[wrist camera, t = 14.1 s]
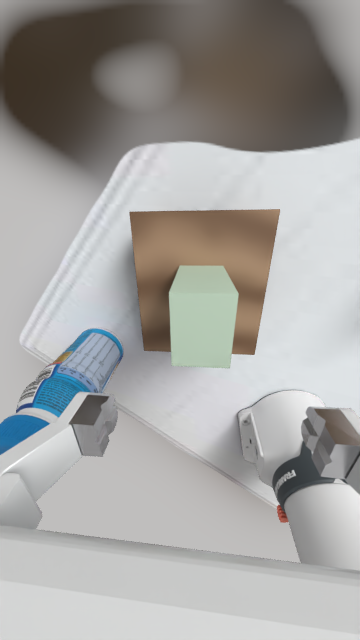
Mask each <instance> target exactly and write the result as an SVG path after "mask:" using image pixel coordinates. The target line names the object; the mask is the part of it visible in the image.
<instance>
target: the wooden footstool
mask: <svg viewBox="0 0 360 640" xmlns="http://www.w3.org/2000/svg"><path fill="white" fill-rule="evenodd" d="M279 214H280V209H272V210H210V211H148V212H130V222H131V231H132V241H133V250H134V260H135V269H136V278H137V288H138V297H139V307H140V316H141V326H142V335H143V345H144V351H164V352H171V335H170V307H169V291H170V289H171V286H172V284H173V281H174V279H175V276H176V274H177V271H178V269H179V266H180V265H182V266H224V268H225V270H226V272H227V273H228V275H229V277H230V279H231V281H232V283H233V284H234V286H235V288H236V290H237V292H238V293H239V295H238V304H237V312H236V321H235V329H234V337H233V346H232V354H248V355H254V354H255V349H256V343H257V337H258V332H259V326H260V320H261V315H262V309H263V304H264V298H265V292H266V287H267V281H268V275H269V270H270V264H271V259H272V253H273V247H274V242H275V236H276V230H277V225H278V219H279Z"/></svg>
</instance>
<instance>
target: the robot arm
mask: <svg viewBox="0 0 360 640" xmlns="http://www.w3.org/2000/svg"><path fill="white" fill-rule="evenodd" d="M114 402H115V397H114V395H113V394H103V393H92V392H91V393H90V392H79V393H77V394H76V395H75V397H74V398H73V399H72V401H71V402H70V403H69V405H68V406H67V407H66V409H65V410H64V411H63V413H62V414H61V416H60V417H59V418H58V420H57V421H56V422H55V423H51V424H49V425H48V426H46V427H44V428H43V429H41V430H40V431H38V432H36V433H35V434H33V435H32V436H30V437H28V438H27V439H25V440H24V441H22V442H20V443H19V444H17V445H16V446H14V447H13V448H11V449H9V450H8V451H6V452H5V453H3V454H1V455H0V640H360V417H359V416H358V415H357V414H356V412H355V411H354V410H352V409H350V408H333V407H326V406H325V404H324V402H323V401H322V400H321V399H320V398H318V397H317V396H315V395H313V394H311V393H308V392H304V391H296V390H290V391H281V392H277V393H274V394H271V395H269V396H266V397H265V398H263V399H261V400H260V401H259V402H257V403H256V404H255V405H254V406H252V407H250V408H247V409H244V410H242V411H240V412H239V413H238V419H239V427H240V435H241V443H242V451H243V456H244V459H245V460H246V461H248V462H250V463H253V464H256V467H257V471H258V475H259V478H260V480H261V481H262V482H264V483H265V484H267V485H269V486H270V487H272V488H273V489H274V492H275V496H276V498H277V500H278V502H279V503H280V505H278V506H277V510H278V511H277V513H278V517H279V520H280V521H281V522H289V525H290V529H291V532H292V535H293V539H294V542H295V545H296V548H297V552H298V555H299V559H300V562H301V563H297V562H289V561H281V560H273V559H265V558H258V557H250V556H242V555H234V554H225V553H218V552H210V551H203V550H195V549H187V548H179V547H171V546H163V545H155V544H148V543H139V542H132V541H124V540H116V539H108V538H100V537H91V536H84V535H77V534H68V533H61V532H52V531H45V530H37V529H36V528H37V526H38V524H39V522H40V520H41V518H42V512H41V510H40V508H39V507H38V505H37V503H36V501H37V500H38V499H39V498H40V497H41V496H42V495H43V494H44V493H45V492H46V491H47V490H48V489H49V488H50V487H51V486H52V485H53V484H55V482H57V481H58V480H59V479H60V478H61V477H62V476H63V475H64V474H65V473H66V472H67V471H68V470H69V469H70V468H71V467H72V466H73V465H74V464H75V463H76V462H77V461H78V460H79V459H80V458H81V457H82V455H84V456H100V457H102V456H103V454H104V452H105V449H106V447H107V445H108V442H109V438H108V435H109V434H110V433H111V432H113V431H114V428H115V426H116V422H117V415H118V412H117V408H116V407H115V406H114Z"/></svg>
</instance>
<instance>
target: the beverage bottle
mask: <svg viewBox="0 0 360 640" xmlns="http://www.w3.org/2000/svg"><path fill="white" fill-rule="evenodd" d="M122 357H123V346H122V343H121V341H120V340H119V338H118V337H117V336H116V335H115V334H113V333H112V332H110V331H108V330H106V329H102V328H91V329H88V330H86V331H84V332H83V333H82V334H81V335H80V336H79V337H78V338H77V340H76V341H75V342H74V343H73V344H72V345H71V346H70V347H69V348H68V349H67V350H66V351H65V352H64V353H63V354H62V355H60V356H59V357H58V358H57V359H56V360H55V361H54V362H53V363H52V364H50V365H48V366H47V367H46V368H44V369H43V370H42V371H41V372H40V374H39V375H38V377H37V379H36V381H34V382H32V383H31V384H30V385H28V387H26V389H25V390H24V392H23V394H22V395H21V397H20V399H19V402H18V406H17V410H16V414H13V415H11V416H9V417H8V418H6V419H5V420H4V421H3V422H2V423H1V424H0V455H1V454H3V453H5V452H6V451H8V450H9V449H11V448H13V447H14V446H16V445H17V444H19V443H20V442H22V441H24V440H25V439H27V438H28V437H30V436H32V435H33V434H35V433H36V432H38V431H40V430H41V429H43V428H44V427H46V426H48V425H49V424H51V423H55V422H56V421H57V420H58V418H59V417H60V416H61V414H62V413H63V411H64V410H65V409H66V407H67V406H68V405H69V403H70V402H71V401H72V399H73V398H74V397H75V395H76V394H77V393H79V392H90V393H91V392H92V393H103V392H104V390H105V388H106V386H107V384H108V383H109V381H110V379H111V377H112V375H113V373H114V371H115V370H116V368H117V366H118V364H119V363H120V361H121V359H122Z"/></svg>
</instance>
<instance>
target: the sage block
mask: <svg viewBox="0 0 360 640" xmlns="http://www.w3.org/2000/svg"><path fill="white" fill-rule="evenodd" d="M238 295H239V293H238V292H237V290H236V288H235V286H234V284H233V283H232V281H231V279H230V277H229V275H228V273H227V272H226V270H225V268H224V266H182V265H180V266H179V269H178V271H177V274H176V276H175V279H174V281H173V284H172V286H171V289H170V291H169V307H170V335H171V362H172V366H186V367H210V368H230V363H231V354H232V346H233V337H234V329H235V321H236V312H237V304H238Z"/></svg>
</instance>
